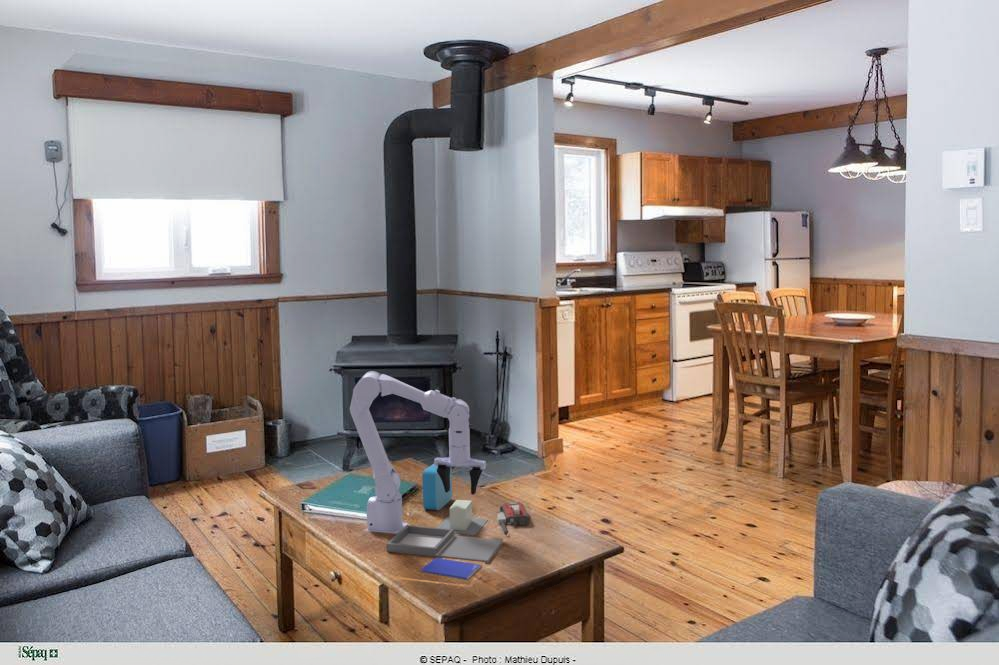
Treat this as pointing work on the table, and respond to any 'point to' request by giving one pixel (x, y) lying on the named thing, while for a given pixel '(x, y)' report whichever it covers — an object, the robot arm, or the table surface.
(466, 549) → the equipment case
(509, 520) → the walkie-talkie
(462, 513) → the block
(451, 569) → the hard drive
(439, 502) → the blue block
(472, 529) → the slate mat
